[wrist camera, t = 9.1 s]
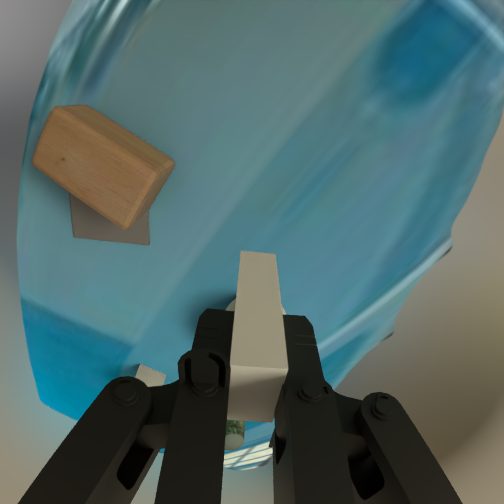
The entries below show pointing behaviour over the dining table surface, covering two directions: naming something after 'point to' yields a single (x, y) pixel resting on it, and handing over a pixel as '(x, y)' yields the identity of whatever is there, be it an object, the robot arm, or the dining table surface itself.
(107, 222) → the mat
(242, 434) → the tree stump
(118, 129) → the wooden block
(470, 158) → the dining table surface
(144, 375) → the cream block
